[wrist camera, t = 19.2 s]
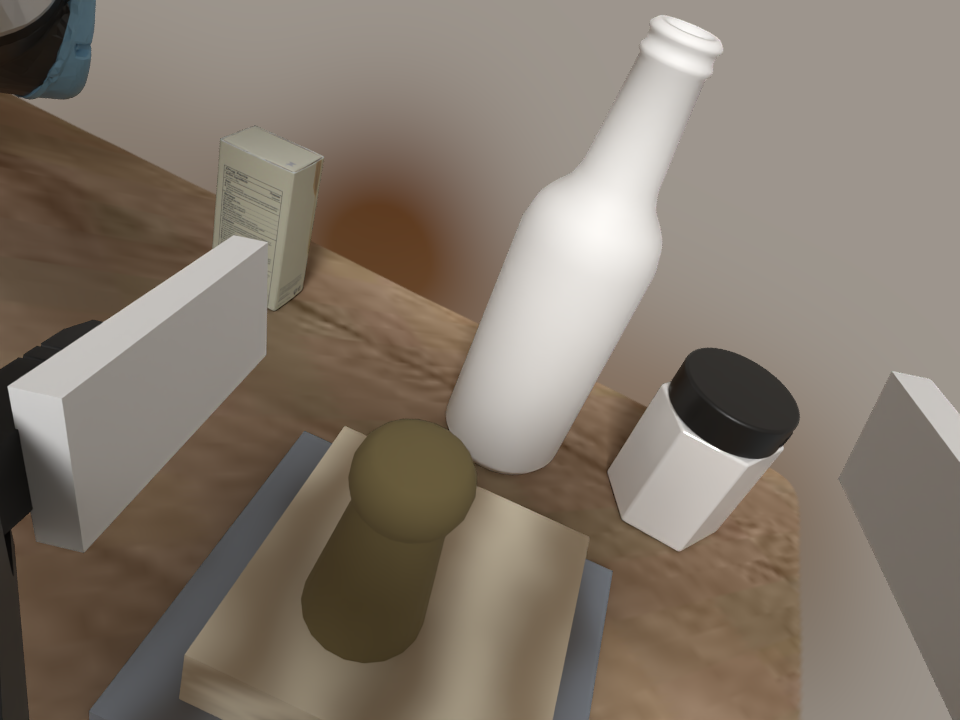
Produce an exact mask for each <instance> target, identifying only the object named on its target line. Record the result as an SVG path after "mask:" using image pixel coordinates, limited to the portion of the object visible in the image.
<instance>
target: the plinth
mask: <svg viewBox="0 0 960 720" xmlns="http://www.w3.org/2000/svg"><path fill="white" fill-rule="evenodd" d="M366 437H367V436H366V435H364V434H362V433H359V432H357V431H355V430H353V429H351V428H348V427H346V426H344V428H343V429H342V431H341V432H340V433H339V435H338V436H337V438H336V439H335V441H334V442H333V443H330V442H328V441H326V440H324V439H321V438H319V437H317V436H315V435H313V434H310V433H308V432H306V431H304V432H303V433H302V435H301V436H300V437H299V438H298V440H297V441H296V442H295V444H294V445H293V446H292V448H291V449H290V450H289V451H288V453H287V454H286V455H285V457H284V458H283V459H282V461H281V462H280V463H279V464H278V466H277V467H276V468H275V470H274V471H273V472H272V474H271V475H270V476H269V478H268V479H267V480H266V481H265V483H264V484H263V485H262V487H261V488H260V489H259V491H258V492H257V493H256V494H255V496H254V497H253V498H252V500H251V501H250V502H249V504H248V505H247V506H246V507H245V509H244V510H243V511H242V513H241V514H240V515H239V517H238V518H237V519H236V520H235V522H234V523H233V524H232V526H231V527H230V528H229V530H228V531H227V532H226V533H225V535H224V536H223V537H222V539H221V540H220V541H219V543H218V544H217V545H216V546H215V548H214V549H213V550H212V552H211V553H210V554H209V556H208V557H207V558H206V560H205V561H204V562H203V563H202V565H201V566H200V567H199V569H198V570H197V571H196V573H195V574H194V575H193V576H192V578H191V579H190V580H189V582H188V583H187V584H186V586H185V587H184V588H183V589H182V591H181V592H180V593H179V595H178V596H177V597H176V599H175V600H174V601H173V602H172V604H171V605H170V606H169V608H168V609H167V610H166V612H165V613H164V614H163V615H162V617H161V618H160V619H159V621H158V622H157V623H156V625H155V626H154V627H153V628H152V630H151V631H150V632H149V634H148V635H147V636H146V638H145V639H144V640H143V641H142V643H141V644H140V645H139V647H138V648H137V649H136V651H135V652H134V653H133V655H132V656H131V657H130V658H129V660H128V661H127V662H126V664H125V665H124V666H123V668H122V669H121V670H120V671H119V673H118V674H117V675H116V677H115V678H114V679H113V681H112V682H111V683H110V684H109V686H108V687H107V688H106V690H105V691H104V692H103V694H102V695H101V696H100V697H99V699H98V700H97V701H96V703H95V704H94V705H93V707H92V708H91V709H90V710H89V720H589V715H590V709H591V702H592V696H593V690H594V684H595V678H596V671H597V665H598V659H599V653H600V647H601V640H602V634H603V628H604V622H605V616H606V609H607V603H608V597H609V591H610V585H611V578H612V572H613V571H611V570H609V569H607V568H605V567H602V566H600V565H598V564H596V563H594V562H591V561H589V560H587V559H586V554H587V549H588V544H589V539H590V537H589V536H586V535H584V534H582V533H580V532H577V531H575V530H573V529H571V528H569V527H566V526H564V525H562V524H560V523H558V522H555V521H553V520H551V519H549V518H547V517H544V516H542V515H540V514H538V513H536V512H533V511H531V510H529V509H527V508H525V507H522V506H520V505H518V504H516V503H514V502H511V501H509V500H507V499H505V498H503V497H500V496H498V495H496V494H494V493H492V492H489V491H487V490H485V489H483V488H481V487H478V486H477V487H476V496H475V499H474V501H473V503H472V505H471V507H470V509H469V511H468V513H467V515H466V517H465V519H464V521H462V522H461V523H460V524H459V525H458V526H457V527H456V528H455V529H454V530H452V531H451V532H450V533H449V534H448V535H447V536H445V540H444V544H443V548H442V552H441V556H440V560H439V564H438V568H437V572H436V576H435V580H434V584H433V588H432V592H431V596H430V600H429V604H428V608H427V611H426V615H425V619H424V623H423V626H422V628H421V630H420V632H419V634H418V636H417V638H416V640H415V641H414V642H413V643H412V644H411V645H410V646H409V647H408V648H407V649H406V650H405V651H404V652H403V653H401V654H399V655H397V656H395V657H393V658H391V659H388V660H386V661H382V662H373V663H359V662H354V661H349V660H344V659H342V658H340V657H338V656H336V655H335V654H333V653H331V652H329V651H327V650H325V649H324V648H323V647H322V646H321V644H320V643H319V642H318V641H317V640H316V639H315V638H314V637H313V636H312V635H311V633H310V631H309V629H308V627H307V625H306V623H305V621H304V619H303V614H302V604H301V597H302V593H303V589H304V585H305V581H306V580H307V578H308V576H309V574H310V572H311V571H312V569H313V567H314V565H315V563H316V562H317V560H318V558H319V556H320V554H321V553H322V551H323V549H324V547H325V545H326V544H327V542H328V540H329V538H330V537H331V535H332V533H333V531H334V529H335V528H336V526H337V524H338V522H339V520H340V519H341V517H342V515H343V513H344V511H345V510H346V508H347V506H348V504H349V502H350V501H351V496H350V490H349V480H348V476H349V472H350V468H351V464H352V460H353V456H354V453H355V451H356V450H357V449H358V447H359V446H360V445H361V443H362V442H363V441H364V439H365V438H366Z"/></svg>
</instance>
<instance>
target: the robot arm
mask: <svg viewBox="0 0 960 720" xmlns="http://www.w3.org/2000/svg"><path fill="white" fill-rule="evenodd" d="M95 6H96V0H0V92H1V93H8V94H14V95H16V96H17V97H23V98H25V99H35V98H38V97H39V98H52V99H69V98H73V97H75V96H76V95H78V94H79V93H80V92H81V91H82V89H83V88H84V86H85V83H86V81H87V77H88V73H89V68H90V61H91V46H90V45H91V43H92V38H93V33H94V24H95ZM267 274H268V242H264V241H260V240H255V239H250V238H245V237H240V236H235V235H233V236H232V237H230V238H229V239H227V240H226V241H224V242H223V243H221V244H220V245H218V246H217V247H215V248H214V249H212V250H211V251H209V252H208V253H206V254H205V255H203V256H202V257H200V258H199V259H197V260H196V261H194V262H193V263H191V264H190V265H188V266H187V267H185V268H184V269H182V270H181V271H179V272H178V273H176V274H175V275H173V276H172V277H170V278H169V279H167V280H166V281H164V282H163V283H161V284H160V285H158V286H157V287H155V288H154V289H152V290H151V291H149V292H148V293H146V294H145V295H143V296H142V297H140V298H139V299H137V300H136V301H134V302H133V303H131V304H130V305H128V306H127V307H125V308H124V309H122V310H121V311H119V312H118V313H116V314H115V315H113V316H112V317H110V318H109V319H107V320H106V321H104V322H101V321H96V320H91V321H88V322H85V323H82V324H79V325H76V326H72V327H69V328H66V329H63V330H62V331H60V332H58V333H57V334H55V335H54V336H52V337H51V338H49V339H47V340H46V341H44V342H43V343H41V347H39V346H36V347H35V348H33V349H32V350H30V351H28V352H27V353H25V354H24V355H23V358H17V359H16V360H14V361H13V362H11V363H9V364H8V365H6V366H5V367H3V368H2V369H0V720H29V711H28V699H27V688H26V676H25V664H24V652H23V640H22V629H21V617H20V605H19V593H18V582H17V570H16V558H15V546H14V541H13V536H12V531H11V529H12V528H13V527H14V526H15V525H16V524H17V523H18V522H20V521H21V520H22V519H23V518H24V517H25V516H26V515H27V514H28V513H29V512H31V516H32V522H33V527H34V532H35V538H36V542H41V543H45V544H49V545H53V546H57V547H62V548H66V549H70V550H74V551H78V552H83V553H84V552H85V551H86V550H87V549H88V548H89V547H90V546H91V545H92V544H93V542H94V541H95V540H96V539H97V538H98V537H99V536H100V535H101V534H102V533H103V532H104V531H105V529H106V528H107V527H108V526H109V525H110V524H111V523H112V522H113V521H114V520H115V519H116V517H117V516H118V515H119V514H120V513H121V512H122V511H123V510H124V509H125V508H126V507H127V506H128V504H129V503H130V502H131V501H132V500H133V499H134V498H135V497H136V496H137V495H138V494H139V493H140V491H141V490H142V489H143V488H144V487H145V486H146V485H147V484H148V483H149V482H150V481H151V479H152V478H153V477H154V476H155V475H156V474H157V473H158V472H159V471H160V470H161V469H162V468H163V466H164V465H165V464H166V463H167V462H168V461H169V460H170V459H171V458H172V457H173V456H174V454H175V453H176V452H177V451H178V450H179V449H180V448H181V447H182V446H183V445H184V444H185V443H186V441H187V440H188V439H189V438H190V437H191V436H192V435H193V434H194V433H195V432H196V431H197V430H198V428H199V427H200V426H201V425H202V424H203V423H204V422H205V421H206V420H207V419H208V418H209V416H210V415H211V414H212V413H213V412H214V411H215V410H216V409H217V408H218V407H219V406H220V405H221V403H222V402H223V401H224V400H225V399H226V398H227V397H228V396H229V395H230V394H231V393H232V392H233V390H234V389H235V388H236V387H237V386H238V385H239V384H240V383H241V382H242V381H243V380H244V378H245V377H246V376H247V375H248V374H249V373H250V372H251V371H252V370H253V369H254V368H255V367H256V365H257V364H258V363H259V362H260V361H261V360H262V359H263V358H264V357H265V356H266V339H267ZM839 481H840V483H841V485H842V488H843V489H844V491H845V494H846V496H847V498H848V500H849V502H850V504H851V506H852V509H853V511H854V513H855V515H856V517H857V519H858V521H859V523H860V525H861V528H862V530H863V532H864V534H865V536H866V538H867V540H868V542H869V545H870V547H871V548H872V551H873V553H874V555H875V557H876V559H877V561H878V563H879V565H880V567H881V570H882V572H883V574H884V576H885V578H886V580H887V582H888V585H889V587H890V589H891V591H892V593H893V595H894V597H895V599H896V601H897V604H898V606H899V608H900V610H901V612H902V614H903V616H904V618H905V621H906V623H907V625H908V627H909V629H910V631H911V633H912V635H913V637H914V640H915V642H916V644H917V646H918V648H919V650H920V652H921V654H922V656H923V659H924V661H925V663H926V665H927V667H928V669H929V671H930V673H931V675H932V677H933V680H934V682H935V684H936V686H937V688H938V690H939V692H940V694H941V697H942V699H943V701H944V702H945V705H946V707H947V709H948V711H949V714H950V716H951V718H952V720H960V415H959V413H958V412H957V411H956V409H955V408H954V407H953V406H952V405H951V403H950V402H949V401H948V400H947V398H945V396H944V395H943V394H942V392H941V391H940V390H939V389H938V388H937V387H936V385H935V384H934V383H933V382H932V380H931V379H928V378H922V377H918V376H914V375H909V374H903V373H899V372H894V371H892V372H891V374H890V376H889V378H888V380H887V382H886V384H885V386H884V388H883V390H882V392H881V394H880V396H879V398H878V400H877V402H876V404H875V406H874V408H873V410H872V412H871V414H870V416H869V418H868V420H867V422H866V424H865V426H864V428H863V430H862V432H861V434H860V436H859V438H858V440H857V442H856V444H855V446H854V448H853V450H852V452H851V454H850V456H849V458H848V460H847V463H846V464H845V467H844V468H843V471H842V473H841V474H840V476H839Z"/></svg>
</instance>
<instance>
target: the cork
mask: <svg viewBox="0 0 960 720" xmlns="http://www.w3.org/2000/svg"><path fill="white" fill-rule="evenodd" d="M348 480H349V490H350V496H351V501H350V502H349V504H348V506H347V508H346V510H345V511H344V513H343V515H342V517H341V519H340V520H339V522H338V524H337V526H336V528H335V529H334V531H333V533H332V535H331V537H330V538H329V540H328V542H327V544H326V545H325V547H324V549H323V551H322V553H321V554H320V556H319V558H318V560H317V562H316V563H315V565H314V567H313V569H312V571H311V572H310V574H309V576H308V578H307V580H306V581H305V585H304V589H303V593H302V597H301V604H302V614H303V619H304V621H305V623H306V625H307V627H308V629H309V631H310V633H311V635H312V636H313V637H314V638H315V639H316V640H317V641H318V642H319V643H320V644H321V646H322V647H323V648H324V649H325V650H327V651H329V652H331V653H333V654H335V655H336V656H338V657H340V658H342V659H344V660H349V661H354V662H359V663H373V662H382V661H386V660H388V659H391V658H393V657H395V656H397V655H399V654H401V653H403V652H404V651H405V650H406V649H407V648H408V647H409V646H410V645H411V644H412V643H413V642H414V641H415V640H416V638H417V636H418V634H419V632H420V630H421V628H422V626H423V623H424V619H425V615H426V611H427V608H428V604H429V600H430V596H431V592H432V588H433V584H434V580H435V576H436V572H437V568H438V564H439V560H440V556H441V552H442V548H443V544H444V540H445V536H447V535H448V534H449V533H450V532H451V531H452V530H454V529H455V528H456V527H457V526H458V525H459V524H460V523H461V522H462V521H464V519H465V517H466V515H467V513H468V511H469V509H470V507H471V505H472V503H473V501H474V499H475V496H476V487H477V472H476V469H475V466H474V463H473V460H472V457H471V454H470V452H469V451H468V449H467V448H466V446H465V445H464V444H463V442H462V441H461V440H460V439H459V438H458V437H456V436H455V435H454V434H453V433H451V432H450V431H449V430H447V429H445V428H443V427H441V426H439V425H437V424H435V423H432V422H428V421H424V420H420V419H400V420H395V421H391V422H388V423H386V424H384V425H382V426H380V427H379V428H377V429H375V430H374V431H372V432H370V433H369V434H368V435H367V437H366V438H365V439H364V441H363V442H362V443H361V445H360V446H359V447H358V449H357V450H356V451H355V453H354V456H353V460H352V464H351V468H350V472H349V476H348Z"/></svg>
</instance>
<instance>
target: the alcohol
mask: <svg viewBox="0 0 960 720" xmlns="http://www.w3.org/2000/svg"><path fill="white" fill-rule="evenodd" d="M649 25H650V30H649V32H648V35H647V37H646V38H644V39H642V41H641V43H640V45H639V49H640V53H639V55H638V57H637V59H636V61H635V63H634V65H633V66H632V68H631V70H630V72H629V74H628V76H627V78H626V80H625V82H624V84H623V85H622V87H621V89H620V91H619V93H618V95H617V97H616V99H615V101H614V102H613V104H612V106H611V108H610V110H609V112H608V114H607V116H606V118H605V120H604V121H603V123H602V125H601V127H600V129H599V131H598V133H597V135H596V137H595V139H594V141H593V142H592V144H591V146H590V148H589V150H588V152H587V154H586V156H585V158H584V159H583V160H582V161H581V163H580V164H579V165H578V166H577V167H576V168H575V169H574V171H573V172H571V173H569V174H567V175H565V176H563V177H561V178H559V179H557V180H555V181H554V182H552V183H551V184H549V185H547V186H546V187H544V188H543V189H541V190H540V191H539V193H538V194H537V195H536V197H535V198H534V200H533V201H532V202H531V204H530V205H529V206H528V208H527V209H526V211H525V212H524V214H523V216H522V218H521V221H520V223H519V225H518V228H517V231H516V233H515V236H514V238H513V241H512V243H511V246H510V248H509V251H508V253H507V256H506V259H505V261H504V264H503V266H502V269H501V271H500V274H499V276H498V279H497V281H496V284H495V286H494V289H493V291H492V294H491V296H490V299H489V302H488V304H487V307H486V309H485V312H484V314H483V317H482V319H481V322H480V324H479V327H478V329H477V332H476V334H475V337H474V339H473V342H472V344H471V347H470V349H469V352H468V355H467V357H466V360H465V362H464V365H463V367H462V370H461V372H460V375H459V377H458V380H457V382H456V385H455V387H454V390H453V393H452V395H451V398H450V400H449V403H448V405H447V410H446V422H447V425H448V428H449V431H450V432H451V433H453V434H454V435H455V436H456V437H458V438H459V439H460V440H461V441H462V442H463V444H464V445H465V446H466V448H467V449H468V451H469V452H470V454H471V457H472V460H473V462H474V463H476V464H478V465H479V466H481V467H483V468H485V469H488V470H490V471H493V472H496V473H500V474H507V475H520V474H525V473H529V472H532V471H535V470H538V469H540V468H542V467H544V466H546V465H547V464H548V463H550V462H551V461H552V459H553V458H554V456H555V455H556V453H557V451H558V449H559V448H560V446H561V444H562V442H563V440H564V439H565V437H566V435H567V433H568V431H569V429H570V428H571V426H572V424H573V422H574V420H575V419H576V417H577V415H578V413H579V411H580V410H581V408H582V406H583V404H584V402H585V401H586V399H587V397H588V395H589V393H590V391H591V390H592V388H593V386H594V384H595V382H596V381H597V379H598V377H599V375H600V373H601V371H602V370H603V368H604V366H605V364H606V363H607V361H608V359H609V357H610V355H611V353H612V352H613V350H614V348H615V346H616V344H617V343H618V341H619V339H620V337H621V335H622V333H623V332H624V330H625V328H626V326H627V325H628V323H629V321H630V319H631V317H632V315H633V314H634V312H635V310H636V308H637V306H638V305H639V303H640V301H641V299H642V297H643V296H644V294H645V292H646V290H647V288H648V286H649V285H650V283H651V281H652V279H653V277H654V276H655V274H656V269H657V266H658V262H659V257H660V254H661V250H662V246H663V244H662V235H661V229H660V224H659V220H658V216H657V212H656V205H657V198H658V192H659V190H660V187H661V185H662V182H663V180H664V177H665V175H666V173H667V170H668V168H669V166H670V163H671V161H672V158H673V156H674V154H675V151H676V149H677V147H678V144H679V142H680V139H681V137H682V135H683V132H684V130H685V127H686V125H687V122H688V120H689V118H690V116H691V113H692V111H693V108H694V106H695V103H696V101H697V99H698V96H699V94H700V92H701V89H702V87H703V84H704V81H705V80H706V79H708V78H710V77H711V75H712V73H713V64H714V62H715V60H716V58H717V57H718V56H720V55H721V54H722V53H723V51H724V49H723V46H722V43H721V41H720V39H718V38H717V37H716V36H714V35H713V34H711V33H709V32H708V31H706V30H704V29H702V28H700V27H698V26H695V25H693V24H691V23H688V22H686V21H683V20H680V19H678V18H674V17H670V16H666V15H659V16H657V17H655V18H652V19H651V21H650V23H649Z"/></svg>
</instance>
